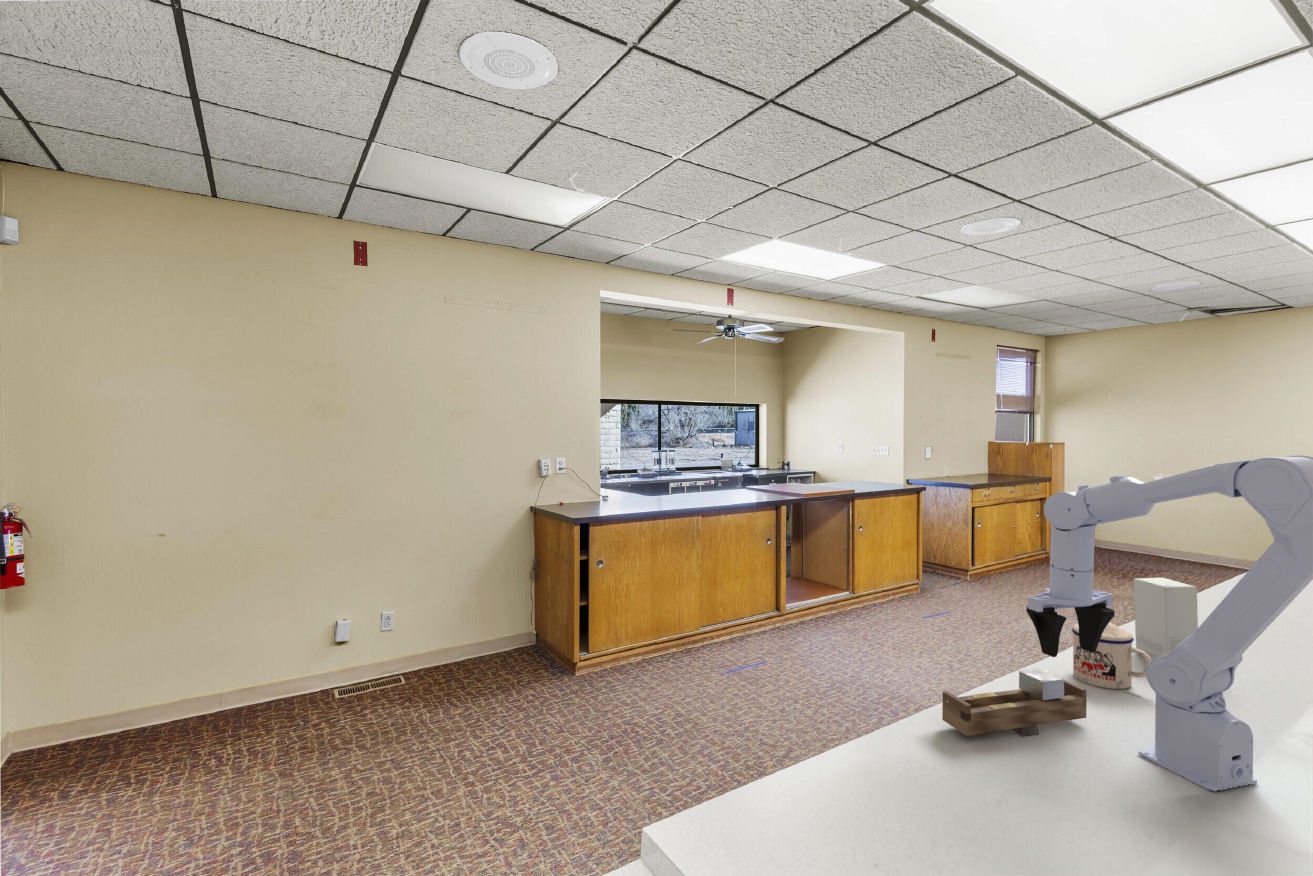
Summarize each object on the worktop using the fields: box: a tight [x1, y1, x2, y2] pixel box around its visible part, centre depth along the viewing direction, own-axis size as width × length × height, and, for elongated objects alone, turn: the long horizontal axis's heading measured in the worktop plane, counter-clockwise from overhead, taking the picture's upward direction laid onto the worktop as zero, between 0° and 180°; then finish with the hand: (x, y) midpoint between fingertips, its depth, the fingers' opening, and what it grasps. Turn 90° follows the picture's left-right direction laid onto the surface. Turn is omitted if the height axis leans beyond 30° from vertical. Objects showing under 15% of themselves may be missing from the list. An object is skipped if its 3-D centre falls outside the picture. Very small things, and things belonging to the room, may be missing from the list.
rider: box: [1018, 668, 1065, 701], centre depth 95 cm, size 4×4×4 cm
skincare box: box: [1133, 577, 1199, 660], centre depth 121 cm, size 8×7×16 cm
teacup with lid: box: [1071, 622, 1152, 690], centre depth 110 cm, size 12×9×12 cm
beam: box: [941, 679, 1088, 738], centre depth 94 cm, size 22×6×6 cm, turn 104°
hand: (1068, 652), depth 97 cm, fingers open, 7 cm apart
